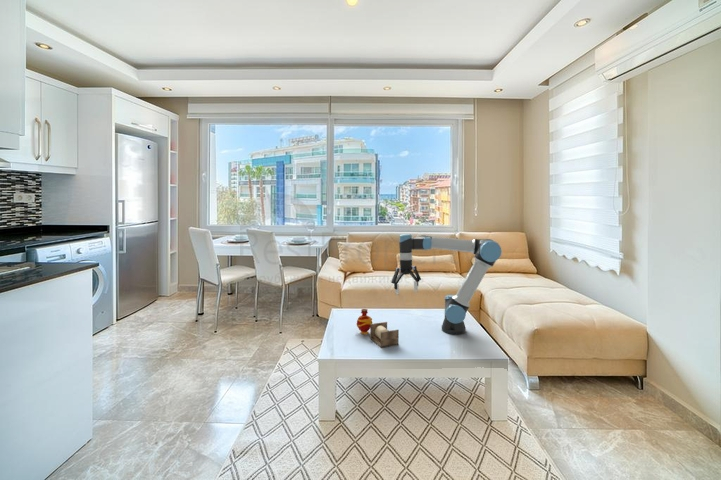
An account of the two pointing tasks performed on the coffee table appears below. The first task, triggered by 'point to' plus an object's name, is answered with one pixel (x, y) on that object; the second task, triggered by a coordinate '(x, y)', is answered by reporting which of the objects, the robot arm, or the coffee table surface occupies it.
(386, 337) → the holder
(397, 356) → the coffee table surface
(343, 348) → the coffee table surface
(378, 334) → the roll
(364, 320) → the potion bottle
